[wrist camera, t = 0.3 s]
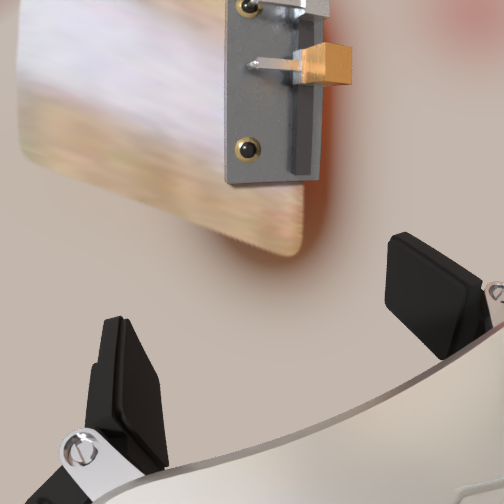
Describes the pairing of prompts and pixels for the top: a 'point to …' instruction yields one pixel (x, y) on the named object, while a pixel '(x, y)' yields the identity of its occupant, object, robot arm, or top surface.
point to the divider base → (271, 92)
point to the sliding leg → (314, 65)
